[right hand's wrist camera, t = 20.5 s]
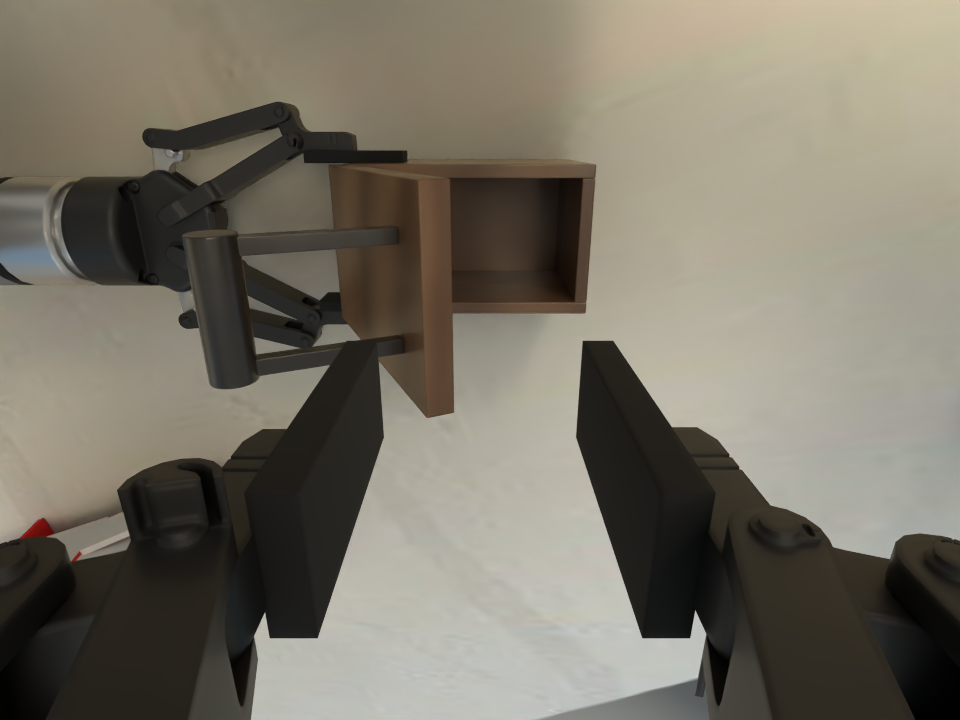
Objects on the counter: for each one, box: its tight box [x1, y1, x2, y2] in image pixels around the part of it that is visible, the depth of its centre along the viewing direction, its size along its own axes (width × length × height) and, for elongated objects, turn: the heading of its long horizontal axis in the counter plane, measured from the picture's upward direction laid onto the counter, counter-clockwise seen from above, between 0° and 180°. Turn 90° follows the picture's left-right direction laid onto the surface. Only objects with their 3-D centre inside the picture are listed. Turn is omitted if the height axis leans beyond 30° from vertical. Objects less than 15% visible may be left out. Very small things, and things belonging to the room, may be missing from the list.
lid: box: [182, 164, 454, 418], centre depth 27 cm, size 16×10×9 cm
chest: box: [342, 160, 596, 313], centre depth 41 cm, size 16×10×11 cm, turn 90°
